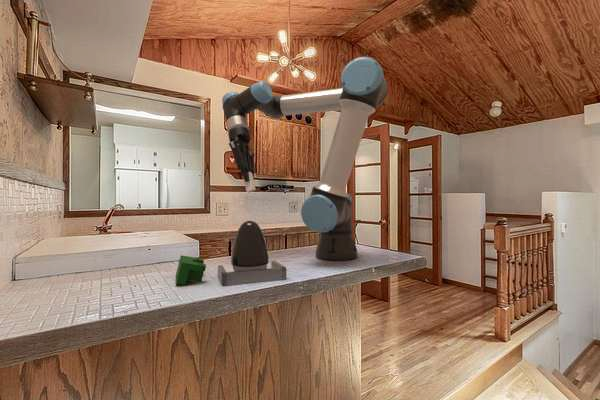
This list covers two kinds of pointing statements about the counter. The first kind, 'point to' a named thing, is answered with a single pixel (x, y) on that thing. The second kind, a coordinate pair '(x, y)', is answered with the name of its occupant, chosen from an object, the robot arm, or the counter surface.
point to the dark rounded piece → (249, 248)
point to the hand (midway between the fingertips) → (251, 190)
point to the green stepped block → (189, 270)
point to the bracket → (252, 275)
